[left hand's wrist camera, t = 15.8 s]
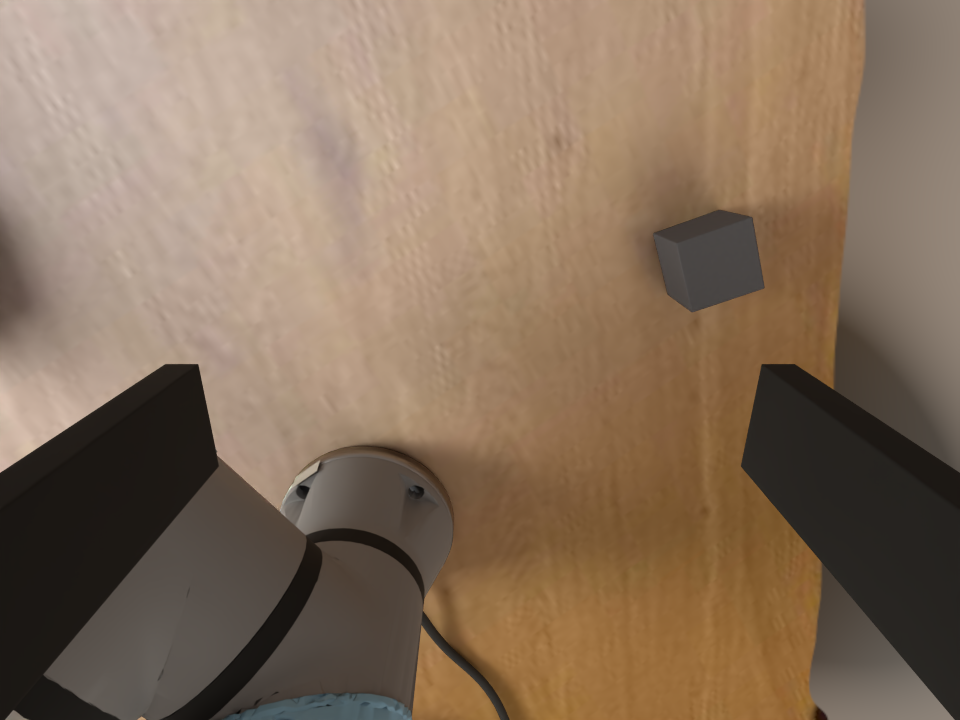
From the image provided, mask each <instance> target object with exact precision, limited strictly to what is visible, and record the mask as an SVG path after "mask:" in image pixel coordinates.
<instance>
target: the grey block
mask: <svg viewBox="0 0 960 720" xmlns="http://www.w3.org/2000/svg"><path fill="white" fill-rule="evenodd" d="M653 235H654V240H655V244H656V248H657V252H658V256H659V260H660V264H661V268H662V273H663V277H664V281H665V285H666V289H667V293H668V295H669V296H670V297H672V298H673V299H674V300H676V301H677V302H678V303H680V304H681V305H683V306H684V307H685V308H687V309H688V310H689V311H691V312H695V311H698V310H701V309H704V308H707V307H710V306H713V305H716V304H719V303H722V302H725V301H728V300H731V299H734V298H737V297H740V296H743V295H746V294H749V293H752V292H755V291H758V290H761V289H764V282H763V276H762V270H761V265H760V259H759V253H758V247H757V242H756V236H755V230H754V225H753V219H752V217H750V216H745V215H741V214H736V213H731V212H727V211H722V210H717V211H715V212H712V213H709V214H706V215H703V216H701V217H698V218H695V219H692V220H689V221H687V222H684V223H681V224H678V225H675V226H673V227H670V228H667V229H664V230H661V231H658V232H656V233H654V234H653Z"/></svg>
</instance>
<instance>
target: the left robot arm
mask: <svg viewBox="0 0 960 720" xmlns="http://www.w3.org/2000/svg"><path fill="white" fill-rule="evenodd" d="M216 453H217V450H216V449H215V444H214V439H213V434H212V429H211V424H210V419H209V415H208V410H207V405H206V400H205V395H204V390H203V385H202V380H201V376H200V371H199V366H198V364H165V365H163V366H162V367H160V368H159V369H157V370H156V371H154V372H153V373H151V374H150V375H148V376H147V377H145V378H144V379H142V380H141V381H139V382H138V383H136V384H135V385H133V386H132V387H130V388H128V389H127V390H125V391H124V392H122V393H121V394H119V395H118V396H116V397H115V398H113V399H112V400H110V401H109V402H107V403H106V404H104V405H103V406H101V407H100V408H98V409H97V410H95V411H94V412H92V413H90V414H89V415H87V416H86V417H84V418H83V419H81V420H80V421H78V422H77V423H75V424H74V425H72V426H71V427H69V428H68V429H66V430H65V431H63V432H62V433H60V434H59V435H57V436H56V437H54V438H52V439H51V440H49V441H48V442H46V443H45V444H43V445H42V446H40V447H39V448H37V449H36V450H34V451H33V452H31V453H30V454H28V455H27V456H25V457H24V458H22V459H21V460H19V461H18V462H16V463H14V464H13V465H11V466H10V467H8V468H7V469H5V470H4V471H2V472H1V473H0V720H137V719H138V718H140V717H141V716H142V717H144V718H145V719H146V720H412V709H413V700H414V690H415V680H416V671H417V661H418V652H419V642H420V632H421V625H422V626H423V627H424V629H425V630H426V632H427V633H428V634H429V636H430V637H431V638H432V640H433V641H434V642H435V643H436V644H437V645H438V646H439V648H440V649H441V650H442V651H443V652H444V653H445V654H446V655H447V656H448V657H450V658H451V659H452V660H453V661H454V662H455V663H456V664H457V665H459V666H460V667H461V668H462V669H463V670H464V671H466V672H467V673H468V674H469V675H470V676H471V677H472V678H473V679H474V680H475V681H476V682H477V683H478V684H479V685H480V686H481V688H482V689H483V690H484V691H485V693H486V694H487V695H488V697H489V698H490V700H491V701H492V703H493V705H494V707H495V708H496V710H497V712H498V715H499V717H500V719H501V720H509V717H508V715H507V712H506V710H505V708H504V706H503V704H502V702H501V700H500V698H499V697H498V695H497V694H496V692H495V691H494V689H493V688H492V686H491V685H490V684H489V683H488V681H487V680H486V679H485V678H484V677H483V676H482V675H481V674H480V673H479V672H478V671H477V670H476V669H475V668H474V667H473V666H472V665H471V664H470V663H468V662H467V661H466V660H465V659H464V658H463V657H462V656H460V655H459V654H458V653H457V652H456V651H455V650H454V649H453V648H452V647H451V646H450V645H449V644H448V643H447V642H446V641H445V640H444V639H443V637H442V636H441V635H440V634H439V632H438V631H437V630H436V628H435V627H434V626H433V624H432V623H431V621H430V620H429V619H428V617H427V616H426V614H425V613H424V612H423V605H424V598H425V596H426V594H427V593H428V591H429V589H430V587H431V586H432V584H433V582H434V581H435V579H436V577H437V575H438V574H439V572H440V570H441V568H442V567H443V565H444V563H445V561H446V559H447V557H448V554H449V552H450V549H451V545H452V540H453V527H454V515H453V509H452V505H451V501H450V499H449V496H448V494H447V492H446V490H445V489H444V487H443V485H442V484H441V483H440V481H439V480H438V479H437V478H436V477H435V475H434V474H433V473H432V472H430V471H429V470H428V469H427V468H426V467H424V466H423V465H422V464H420V463H419V462H417V461H416V460H414V459H412V458H410V457H408V456H406V455H404V454H401V453H399V452H396V451H393V450H390V449H385V448H380V447H372V446H355V447H347V448H342V449H338V450H335V451H332V452H329V453H327V454H324V455H322V456H320V457H319V458H317V459H315V460H314V461H312V462H311V463H309V464H308V465H307V466H306V467H305V468H304V469H303V470H302V471H301V472H300V473H299V474H298V476H296V478H295V480H294V481H293V483H292V485H291V487H290V488H289V490H288V492H287V494H286V496H285V498H284V500H283V502H282V506H281V509H280V512H279V511H278V510H277V509H276V508H275V507H274V506H273V505H272V504H270V503H269V502H268V501H267V500H266V499H265V498H264V497H263V496H262V495H260V494H259V493H258V492H257V491H256V490H255V489H254V488H253V487H252V486H250V485H249V484H248V483H247V482H246V481H245V480H244V479H243V478H242V477H240V476H239V475H238V474H237V473H236V472H235V471H234V470H233V469H231V468H230V467H229V466H228V465H227V464H226V463H225V462H224V461H223V460H221V459H220V458H219V457H218V456H217V454H216ZM741 467H742V468H743V469H744V471H745V472H746V473H747V474H748V475H749V476H750V478H751V479H752V480H753V481H754V482H755V484H756V485H757V486H758V487H759V488H760V489H761V491H762V492H763V493H764V494H765V495H766V497H767V498H768V499H769V500H770V501H771V503H772V504H773V505H774V506H775V507H776V508H777V510H778V511H779V512H780V513H781V514H782V516H783V517H784V518H785V519H786V520H787V521H788V523H789V524H790V525H791V526H792V527H793V529H794V530H795V531H796V532H797V533H798V535H799V536H800V537H801V538H802V539H803V540H804V542H805V543H806V544H807V545H808V546H809V548H810V549H811V550H812V551H813V552H814V553H815V555H816V556H817V557H818V558H819V559H820V561H821V562H822V563H823V564H824V565H825V567H826V568H827V569H828V570H829V571H830V572H831V574H832V575H833V576H834V577H835V578H836V579H837V581H838V582H839V583H840V584H841V585H842V587H843V588H844V589H845V590H846V591H847V593H848V594H849V595H850V596H851V597H852V598H853V600H854V601H855V602H856V603H857V604H858V606H859V607H860V608H861V609H862V610H863V612H864V613H865V614H866V615H867V616H868V617H869V619H870V620H871V621H872V622H873V623H874V625H875V626H876V627H877V628H878V629H879V630H880V632H881V633H882V634H883V635H884V636H885V638H886V639H887V640H888V641H889V642H890V644H891V645H892V646H893V647H894V648H895V649H896V651H897V652H898V653H899V654H900V655H901V657H902V658H903V659H904V660H905V661H906V662H907V664H908V665H909V666H910V667H911V668H912V670H913V671H914V672H915V673H916V674H917V675H918V677H919V678H920V679H921V680H922V681H923V683H924V684H925V685H926V686H927V687H928V689H929V690H930V691H931V692H932V693H933V694H934V696H935V697H936V698H937V699H938V700H939V702H940V703H941V704H942V705H943V706H944V707H945V709H946V710H947V711H948V712H949V713H950V715H951V716H952V717H953V718H954V719H955V720H960V473H959V472H958V471H956V470H955V469H953V468H952V467H950V466H949V465H947V464H946V463H944V462H942V461H941V460H939V459H938V458H936V457H935V456H933V455H932V454H930V453H929V452H927V451H926V450H924V449H923V448H921V447H920V446H918V445H917V444H915V443H914V442H912V441H911V440H909V439H908V438H906V437H904V436H903V435H901V434H900V433H898V432H897V431H895V430H894V429H892V428H891V427H889V426H888V425H886V424H885V423H883V422H882V421H880V420H879V419H877V418H876V417H874V416H873V415H871V414H870V413H868V412H866V411H865V410H863V409H862V408H860V407H859V406H857V405H856V404H854V403H853V402H851V401H850V400H848V399H847V398H845V397H844V396H842V395H841V394H839V393H838V392H836V391H835V390H833V389H832V388H830V387H828V386H827V385H825V384H824V383H822V382H821V381H819V380H818V379H816V378H815V377H813V376H812V375H810V374H809V373H807V372H806V371H804V370H803V369H801V368H800V367H798V366H797V365H795V364H762V366H761V371H760V376H759V380H758V385H757V390H756V395H755V400H754V405H753V410H752V415H751V419H750V424H749V429H748V434H747V439H746V444H745V449H744V454H743V459H742V463H741Z"/></svg>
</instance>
